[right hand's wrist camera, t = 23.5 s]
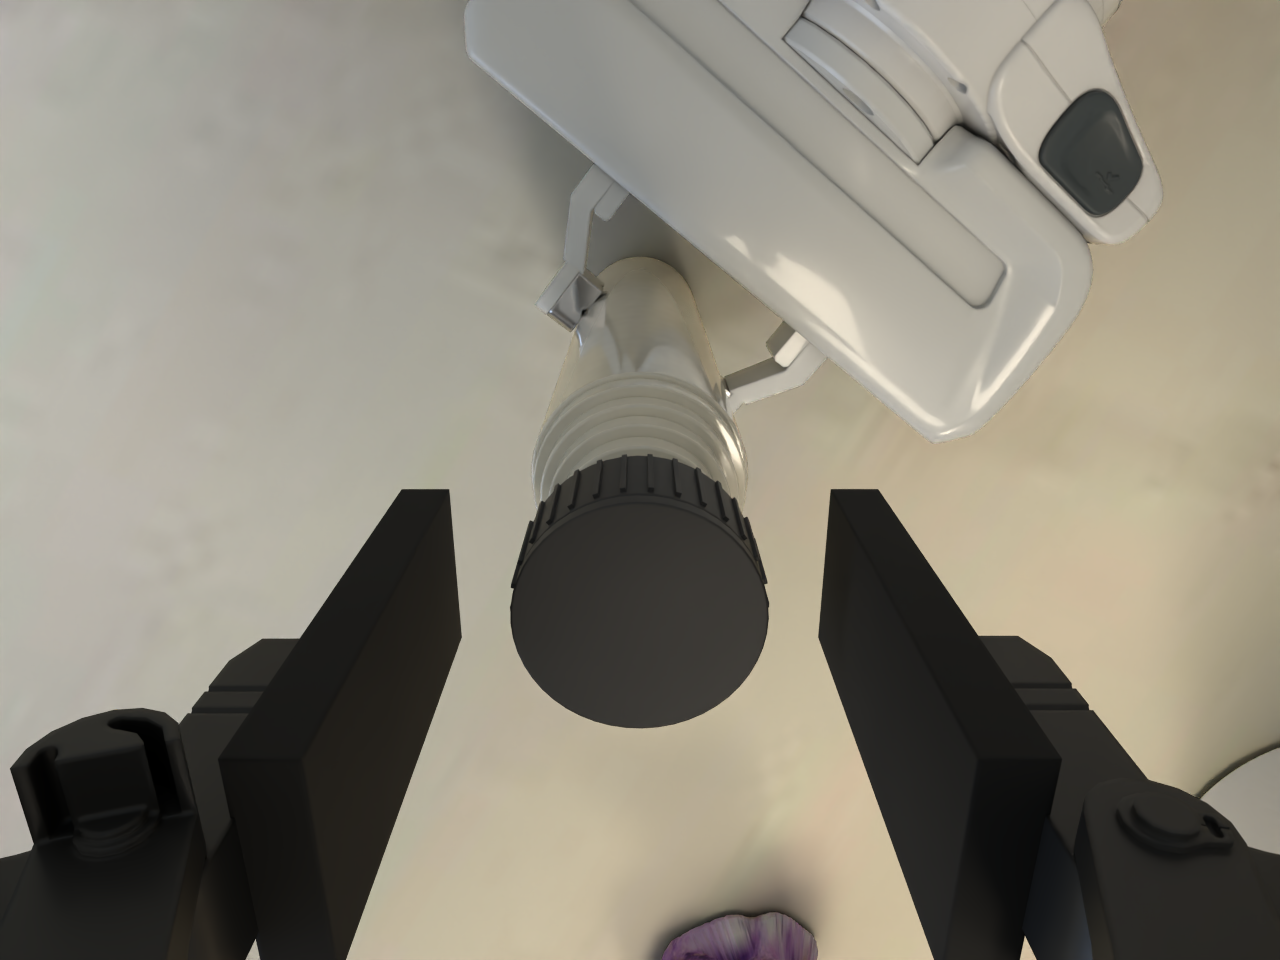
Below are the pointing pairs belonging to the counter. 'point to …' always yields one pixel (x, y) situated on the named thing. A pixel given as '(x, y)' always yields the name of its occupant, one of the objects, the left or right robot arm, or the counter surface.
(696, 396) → the bottle
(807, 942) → the figurine
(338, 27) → the counter surface
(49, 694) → the counter surface
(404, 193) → the counter surface
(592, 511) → the cap
